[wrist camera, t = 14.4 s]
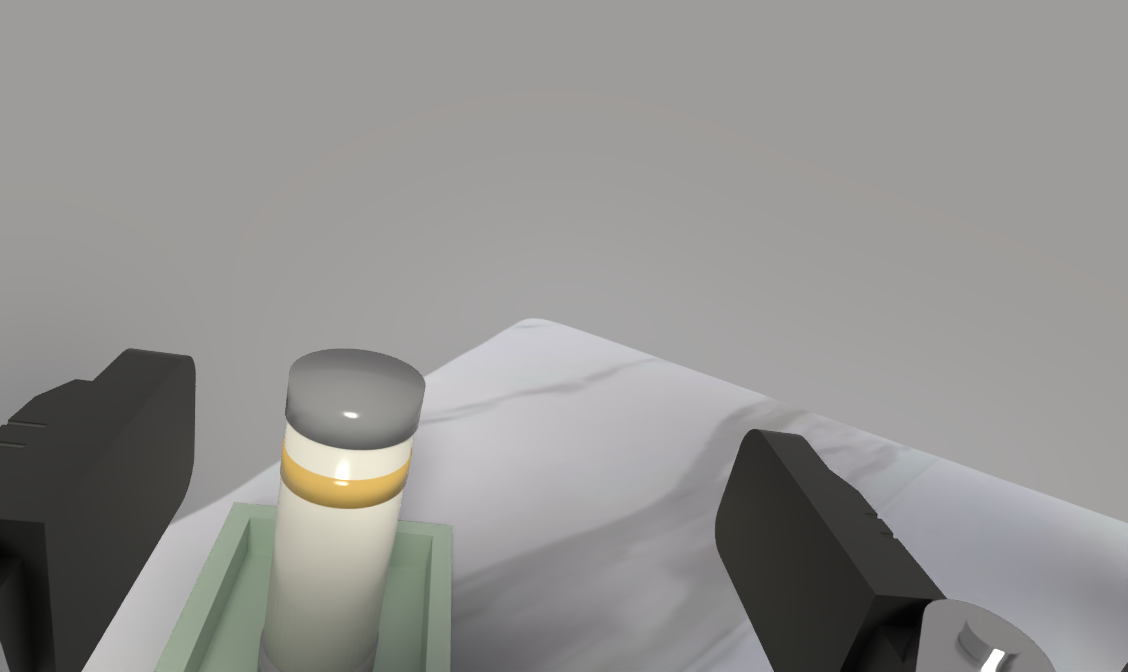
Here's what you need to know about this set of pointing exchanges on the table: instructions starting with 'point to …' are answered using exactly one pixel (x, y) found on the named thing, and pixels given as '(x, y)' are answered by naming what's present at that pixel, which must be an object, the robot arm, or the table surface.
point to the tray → (240, 589)
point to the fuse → (338, 508)
